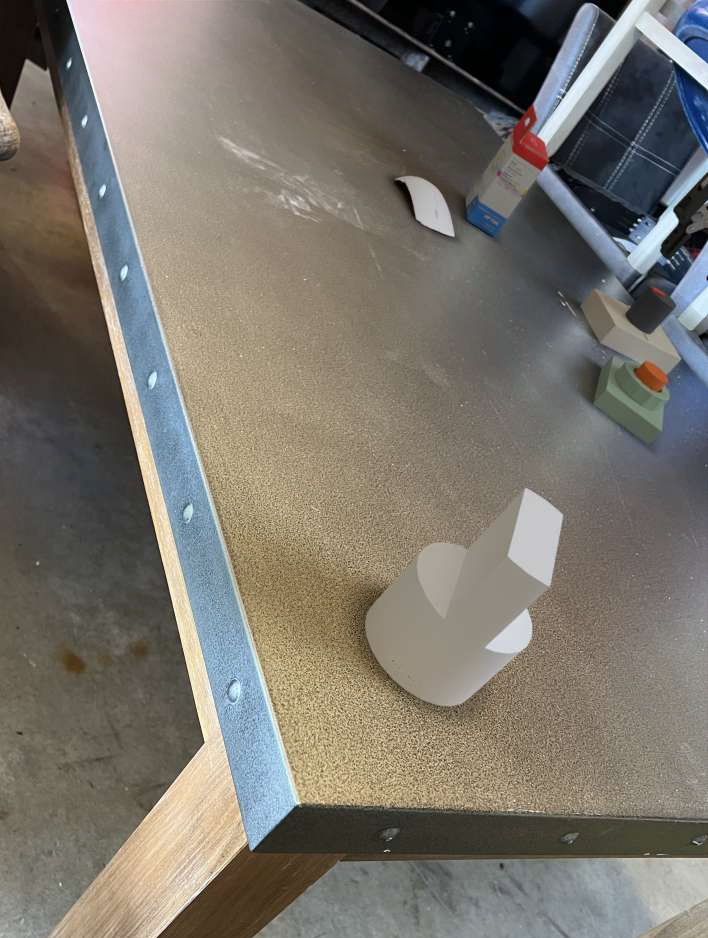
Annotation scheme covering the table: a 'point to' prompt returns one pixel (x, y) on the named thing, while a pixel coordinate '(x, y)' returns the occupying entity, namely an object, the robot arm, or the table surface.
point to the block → (630, 399)
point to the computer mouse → (429, 205)
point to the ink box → (507, 177)
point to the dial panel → (627, 332)
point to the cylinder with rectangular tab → (466, 605)
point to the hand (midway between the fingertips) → (687, 269)
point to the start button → (651, 376)
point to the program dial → (650, 309)
